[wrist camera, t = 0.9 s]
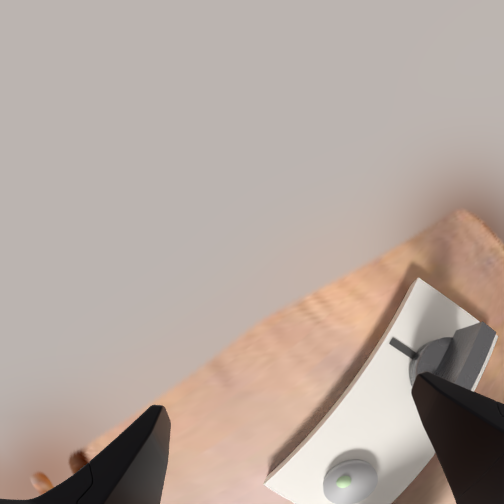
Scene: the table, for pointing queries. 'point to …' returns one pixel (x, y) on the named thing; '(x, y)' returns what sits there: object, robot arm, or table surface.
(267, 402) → the table surface
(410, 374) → the switch lever
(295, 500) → the base
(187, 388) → the table surface
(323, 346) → the table surface
